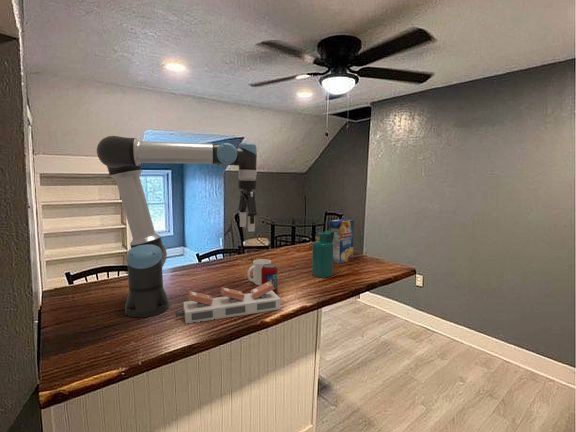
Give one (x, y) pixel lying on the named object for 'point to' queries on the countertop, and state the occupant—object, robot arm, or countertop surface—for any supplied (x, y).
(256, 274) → the mug
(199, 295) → the block
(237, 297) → the rocker
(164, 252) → the robot arm
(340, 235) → the juice carton
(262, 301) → the power strip
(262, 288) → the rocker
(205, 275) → the countertop surface
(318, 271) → the green bottle
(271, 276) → the beverage can
